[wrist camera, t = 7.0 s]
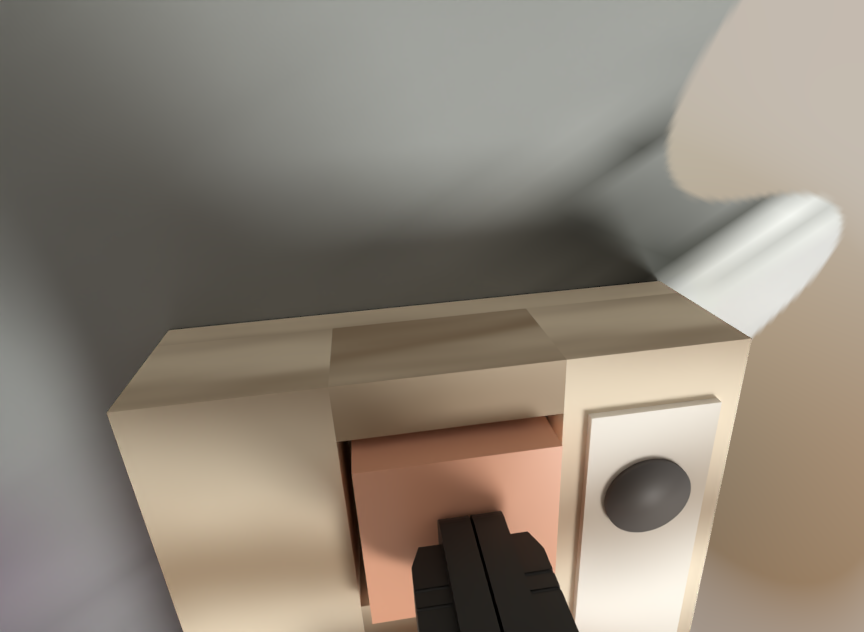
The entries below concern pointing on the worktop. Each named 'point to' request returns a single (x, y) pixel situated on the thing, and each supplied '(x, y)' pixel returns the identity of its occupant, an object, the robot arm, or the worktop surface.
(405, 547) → the button inner
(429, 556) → the robot arm
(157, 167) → the worktop surface
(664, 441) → the button board
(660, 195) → the worktop surface
